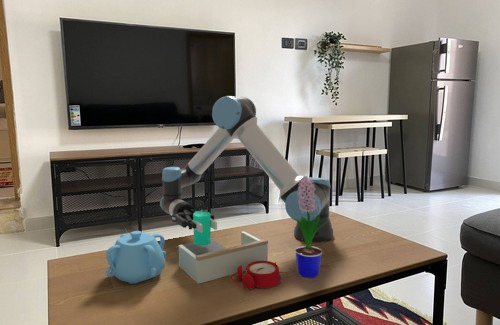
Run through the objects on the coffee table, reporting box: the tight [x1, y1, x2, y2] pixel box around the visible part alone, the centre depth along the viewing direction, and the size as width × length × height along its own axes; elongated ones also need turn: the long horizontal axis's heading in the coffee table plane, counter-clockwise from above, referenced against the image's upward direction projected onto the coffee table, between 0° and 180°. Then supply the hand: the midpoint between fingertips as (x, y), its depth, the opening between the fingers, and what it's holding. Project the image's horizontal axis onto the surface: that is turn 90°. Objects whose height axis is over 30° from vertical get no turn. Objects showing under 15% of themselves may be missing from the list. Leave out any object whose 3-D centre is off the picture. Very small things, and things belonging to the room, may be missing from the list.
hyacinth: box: [294, 175, 328, 279], centre depth 112 cm, size 9×10×30 cm
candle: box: [193, 210, 212, 245], centre depth 132 cm, size 6×6×12 cm
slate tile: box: [176, 238, 227, 256], centre depth 133 cm, size 14×14×1 cm
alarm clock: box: [230, 260, 288, 290], centre depth 109 cm, size 11×6×15 cm
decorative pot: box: [105, 230, 167, 285], centre depth 113 cm, size 16×16×14 cm
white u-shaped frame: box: [178, 231, 269, 285], centre depth 120 cm, size 24×14×8 cm, turn 123°
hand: (208, 227), depth 127 cm, fingers closed on candle, 5 cm apart
